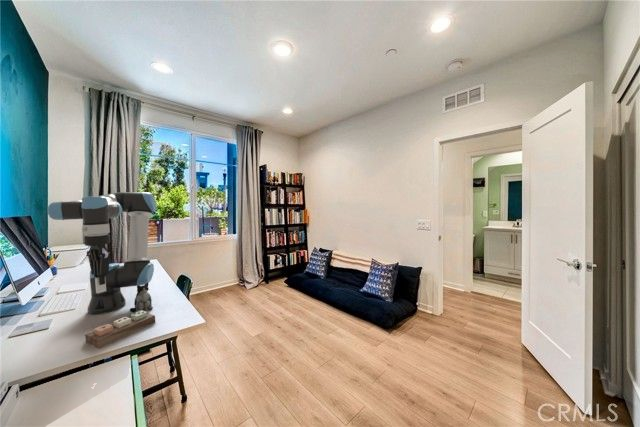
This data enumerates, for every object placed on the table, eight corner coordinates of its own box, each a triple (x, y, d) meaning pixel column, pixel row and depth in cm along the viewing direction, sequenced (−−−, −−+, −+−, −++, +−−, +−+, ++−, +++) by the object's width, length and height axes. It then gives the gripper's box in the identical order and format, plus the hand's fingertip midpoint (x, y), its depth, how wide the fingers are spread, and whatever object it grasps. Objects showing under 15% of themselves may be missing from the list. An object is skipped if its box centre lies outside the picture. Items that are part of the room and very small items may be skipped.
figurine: (131, 318, 114) (129, 288, 114) (127, 311, 121) (125, 283, 120) (154, 310, 122) (153, 282, 121) (149, 305, 128) (147, 278, 127)
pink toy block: (94, 340, 95) (94, 328, 95) (108, 335, 99) (107, 323, 99) (100, 343, 93) (99, 330, 93) (113, 337, 97) (113, 325, 97)
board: (85, 342, 95) (85, 334, 95) (142, 318, 114) (142, 311, 114) (98, 348, 91) (97, 340, 90) (155, 322, 110) (154, 315, 110)
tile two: (114, 332, 101) (113, 320, 101) (126, 327, 105) (125, 316, 105) (119, 334, 99) (119, 322, 99) (131, 329, 103) (131, 318, 103)
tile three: (131, 325, 107) (130, 314, 107) (142, 320, 111) (141, 309, 111) (137, 327, 105) (136, 315, 105) (147, 322, 109) (146, 311, 109)
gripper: (76, 235, 93) (81, 292, 94) (93, 237, 88) (97, 298, 89) (100, 232, 100) (104, 286, 101) (117, 234, 94) (121, 291, 96)
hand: (101, 291), depth 95 cm, fingers closed
